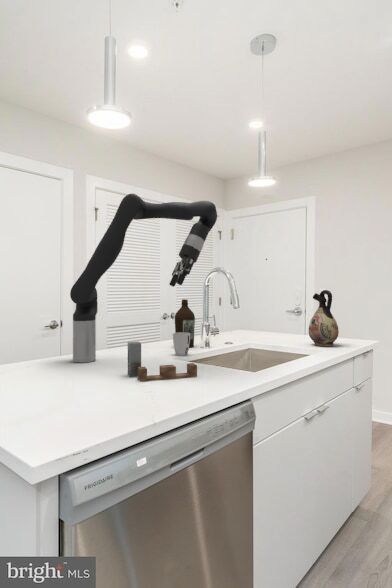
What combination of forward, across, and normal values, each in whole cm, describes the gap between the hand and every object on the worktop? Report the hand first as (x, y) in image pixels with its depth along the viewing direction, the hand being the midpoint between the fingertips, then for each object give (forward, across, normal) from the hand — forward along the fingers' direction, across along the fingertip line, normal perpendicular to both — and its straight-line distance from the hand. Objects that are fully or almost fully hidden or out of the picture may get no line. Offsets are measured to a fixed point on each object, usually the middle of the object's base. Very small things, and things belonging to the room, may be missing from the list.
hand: (175, 285), depth 147 cm
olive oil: (+16, -50, +33) cm, 62 cm away
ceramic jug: (-14, -26, +97) cm, 101 cm away
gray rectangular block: (+37, +4, -1) cm, 37 cm away
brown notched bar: (+33, +12, +8) cm, 36 cm away
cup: (+22, -29, +25) cm, 44 cm away
